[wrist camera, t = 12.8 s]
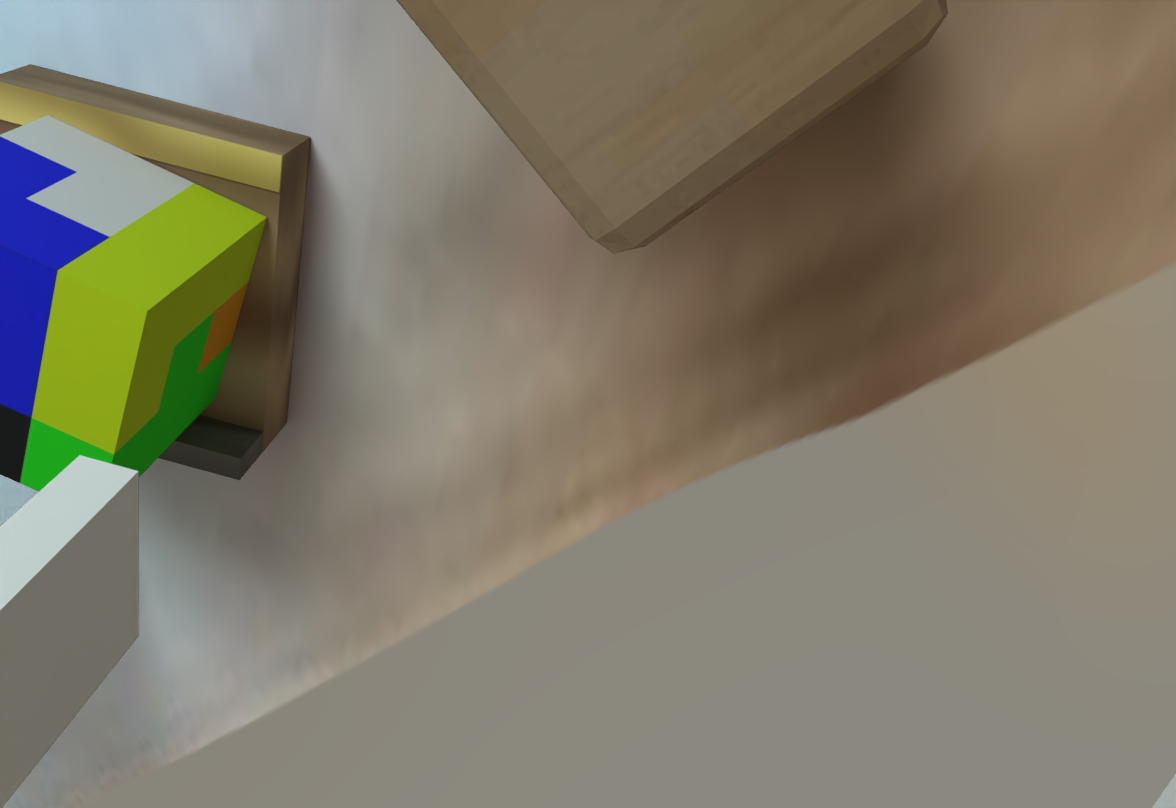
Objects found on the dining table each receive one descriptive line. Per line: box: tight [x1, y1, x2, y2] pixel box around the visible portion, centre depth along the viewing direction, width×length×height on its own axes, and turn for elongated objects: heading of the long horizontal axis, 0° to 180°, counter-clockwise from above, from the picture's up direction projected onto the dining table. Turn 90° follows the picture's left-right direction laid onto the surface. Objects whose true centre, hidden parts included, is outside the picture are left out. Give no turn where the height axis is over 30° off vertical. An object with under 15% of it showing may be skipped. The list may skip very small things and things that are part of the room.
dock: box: [0, 64, 310, 480], centre depth 49 cm, size 15×13×6 cm
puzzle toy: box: [0, 115, 267, 491], centre depth 44 cm, size 10×10×10 cm
